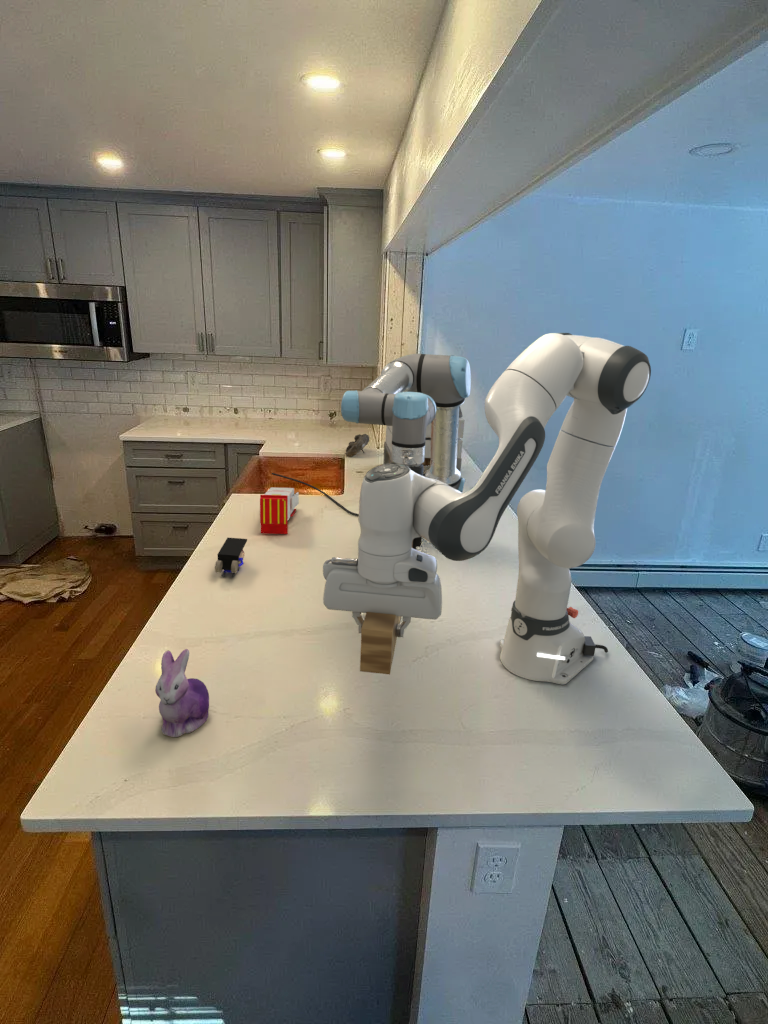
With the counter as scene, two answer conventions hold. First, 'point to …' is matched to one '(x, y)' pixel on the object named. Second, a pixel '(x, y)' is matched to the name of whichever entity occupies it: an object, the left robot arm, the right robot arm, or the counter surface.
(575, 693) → the counter surface
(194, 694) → the figurine
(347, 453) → the fossil
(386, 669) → the bar
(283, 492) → the toy
